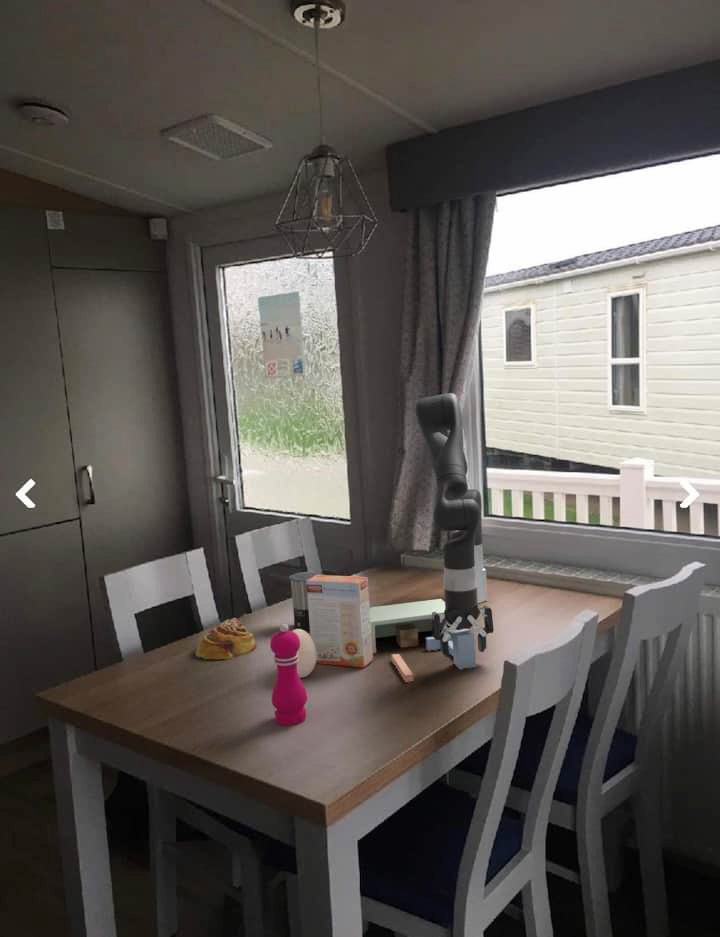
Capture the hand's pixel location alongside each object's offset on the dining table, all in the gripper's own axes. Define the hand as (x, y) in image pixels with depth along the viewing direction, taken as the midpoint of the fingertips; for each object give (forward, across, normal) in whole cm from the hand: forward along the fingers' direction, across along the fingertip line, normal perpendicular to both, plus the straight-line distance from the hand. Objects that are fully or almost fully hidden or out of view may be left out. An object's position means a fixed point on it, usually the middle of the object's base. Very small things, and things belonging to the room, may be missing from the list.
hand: (463, 653), depth 186 cm
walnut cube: (+3, +8, -20) cm, 22 cm away
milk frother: (+3, +26, -44) cm, 52 cm away
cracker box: (+3, +26, -13) cm, 30 cm away
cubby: (+3, +7, -22) cm, 23 cm away
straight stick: (+3, +14, -2) cm, 15 cm away
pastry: (+3, +54, -33) cm, 63 cm away
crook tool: (+3, +2, -6) cm, 7 cm away
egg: (+3, +37, -7) cm, 38 cm away
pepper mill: (+3, +42, +15) cm, 45 cm away
